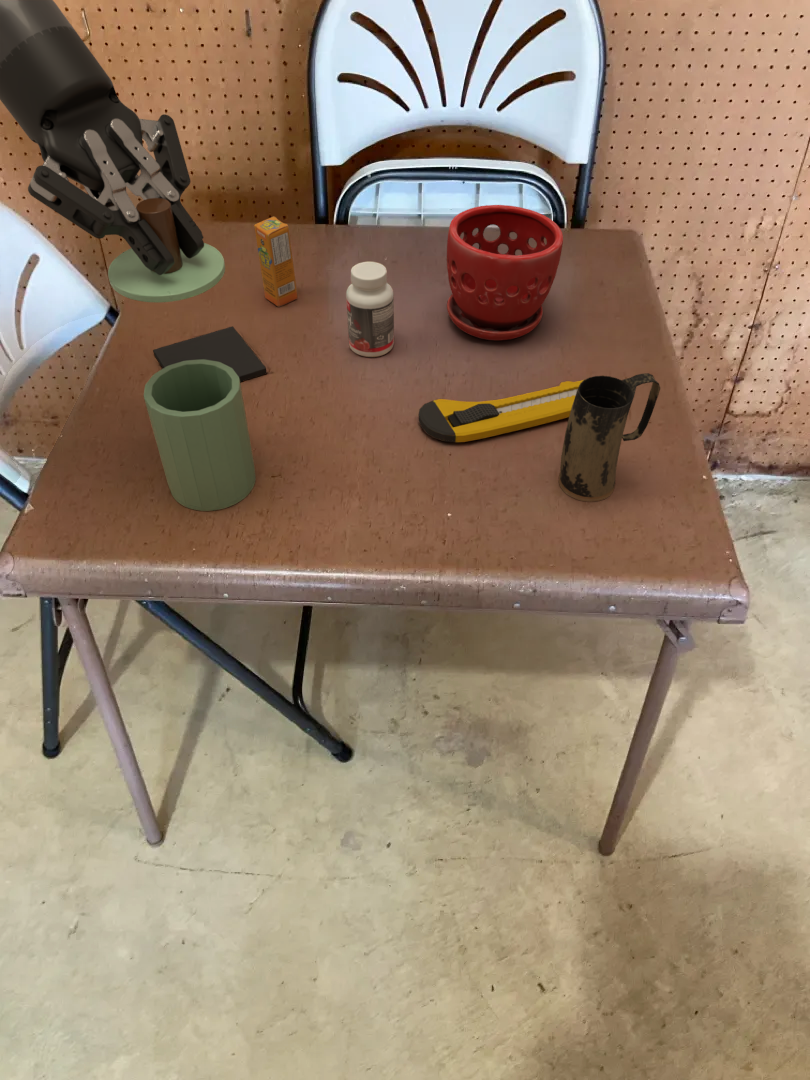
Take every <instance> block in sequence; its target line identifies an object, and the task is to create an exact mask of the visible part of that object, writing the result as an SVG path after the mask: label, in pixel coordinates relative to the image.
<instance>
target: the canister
mask: <svg viewBox="0 0 810 1080" xmlns="http://www.w3.org/2000/svg"><path fill="white" fill-rule="evenodd" d="M143 399H144V403H145V407H146V411H147V413H148V418H149V421H150V425H151V428H152V432H153V435H154V439H155V442H156V446H157V450H158V453H159V457H160V461H161V464H162V468H163V471H164V472H163V473H164V475H165V480H166V482H167V486H168V489H169V491H170V494H171V496H172V497H173V499H174V500H175V501H176V502H177V503H178V504H180V505H181V506H183V507H185V508H187V509H190V510H193V511H199V512H214V511H220V510H224V509H226V508H230V507H232V506H234V505H236V504H238V503H240V502H242V501H243V500H244V499H246V497H248V496H249V494H250V493H251V492H252V491H253V489H254V487H255V484H256V477H257V476H256V468H255V467H256V465H255V461H254V455H253V450H252V449H253V448H252V444H251V437H250V431H249V426H248V420H247V413H246V408H245V402H244V397H243V391H242V385H241V382H240V379H239V377H238V375H237V374H236V373H235V371H234V370H233V369H232V368H231V367H229V366H227V365H225V364H223V363H221V362H217V361H211V360H204V359H203V360H188V361H182V362H179V363H175V364H172V365H169V366H166V367H165V368H161V369H160V370H158V371H157V372H155V373H153V375H151V377H150V378H149V379H148V381H147V382H146V383H145V385H144V390H143Z"/></svg>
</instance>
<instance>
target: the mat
mask: <svg viewBox="0 0 810 1080" xmlns="http://www.w3.org/2000/svg"><path fill="white" fill-rule="evenodd" d="M152 353H153V356H154V358H155V359H156V360H157V362H158V364H159V365H160V366H161V369H163V368H165V367H166V366H169V365H172V364H175V363H179V362H182V361H188V360H203V359H204V360H211V361H217V362H221V363H223V364H225V365H227V366H229V367H231V368H232V369H233V370H234V371H235V373H236V374H237V375H238V377H239V379H240V383H241V382H245V381H249V380H251V379H255V378H257V377H260V376H264V375H266V374H268V371H267V367H266V366H265V365H264V363H263V362H262V361H261V359H260V358H259V357H258V356H257V355H256V353H255V352H254V351H253V350H252V348H251V347H250V345H248V343H247V341H245V339H243V337H242V335H240V333H239V332H238V331H237V329H236V328H235V327H234V326H229V327H225V328H222V329H218V330H215V331H211V332H207V333H204V334H201V335H198V336H195V337H191V338H188V339H185V340H181V341H178V342H174V343H171V344H168V345H164V346H161V347H157V348H154V349H153V350H152Z"/></svg>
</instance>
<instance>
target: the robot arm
mask: <svg viewBox="0 0 810 1080" xmlns="http://www.w3.org/2000/svg"><path fill="white" fill-rule="evenodd" d="M0 102H1V103H2V104H3V106H4V107H5V108H6V110H7V111H8V112H9V114H10V115H11V116H12V117H13V119H14V120H15V121H16V123H17V124H18V125H19V127H20V128H21V129H22V131H23V132H24V133H25V134H26V136H27V137H28V139H29V140H31V141H32V142H33V143H34V144H37V145H38V148H39V151H40V156H41V158H42V161H43V164H42V165H38V166H36V168H35V171H34V173H33V175H32V177H31V179H30V181H29V184H28V187H27V191H28V193H29V196H31V197H33V198H34V199H35V200H37V201H39V202H40V203H41V204H43V205H45V206H46V207H47V208H49V209H51V211H54V212H56V213H57V214H59V215H60V216H62V217H63V218H64V219H66V220H68V221H69V222H71V223H72V224H74V225H75V226H77V227H78V228H80V229H81V230H83V231H85V233H87V234H89V235H90V236H92V237H94V238H96V239H99V240H100V239H104V238H105V237H106V236H115V235H116V236H119V237H121V238H122V239H124V240H125V241H126V243H127V244H128V246H129V247H130V248H132V250H133V251H134V252H135V253H136V255H137V256H138V257H139V259H140V260H141V261H142V263H143V264H144V265H145V267H147V268H148V269H149V270H151V271H152V270H154V271H155V272H156V273H157V274H158V275H162V274H164V273H165V272H167V271H168V270H169V269H170V268H171V267H172V265H173V264H174V258H173V256H172V255H171V253H170V252H169V251H168V249H167V248H166V247H165V245H164V244H163V243H162V241H161V240H160V239H159V237H158V236H157V235H156V233H155V232H154V231H153V229H152V228H151V227H150V225H149V224H148V223H147V221H146V220H145V219H144V220H142V221H140V220H139V213H138V211H137V209H136V206H135V204H134V203H133V201H132V199H131V198H130V195H129V194H128V191H127V189H128V190H129V191H130V192H131V193H132V194H133V195H134V196H136V197H140V198H141V199H142V200H146V199H151V198H162V199H166V200H168V201H169V202H170V203H171V208H172V213H173V218H174V223H175V227H176V232H177V237H178V242H179V247H180V249H181V250H182V252H183V253H184V254H185V256H186V257H187V258H192V257H194V256H196V255H197V254H198V253H199V252H200V251H201V250H202V248H203V247H204V243H205V242H204V240H203V239H204V235H203V232H202V230H201V229H200V227H199V226H198V225H197V223H196V222H195V221H194V219H193V217H191V215H190V213H188V211H187V210H186V208H185V207H184V205H183V204H182V202H181V197H182V194H183V193H184V192H185V190H186V189H188V187H189V186H190V184H191V177H190V173H189V169H188V166H187V163H186V159H185V155H184V152H183V149H182V144H181V140H180V138H179V134H178V131H177V127H176V123H175V120H174V119H173V118H172V116H170V115H169V114H165V113H163V114H161V115H160V116H159V118H158V119H157V120H154V119H145V118H139V116H138V114H137V113H136V112H135V111H133V109H131V108H130V107H128V106H126V105H125V104H124V103H123V102H122V101H121V100H120V98H119V96H118V94H117V91H116V89H115V86H114V84H113V81H112V79H111V78H110V76H109V74H108V73H107V72H106V70H105V69H104V68H103V67H102V65H101V64H100V62H99V61H98V60H97V58H96V57H95V56H94V54H93V52H91V50H90V49H89V48H88V46H87V45H86V43H85V42H84V40H83V39H82V38H81V36H80V35H79V33H78V32H77V31H76V29H75V28H74V26H73V25H72V24H71V22H70V21H69V19H68V18H67V17H66V16H65V14H64V13H63V12H62V10H61V9H60V8H59V6H58V5H57V3H56V2H55V1H54V0H0ZM143 141H144V142H145V144H146V146H147V149H146V148H145V147H144V143H143ZM150 153H153V156H154V157H153V156H152V155H151V154H150ZM139 172H140V174H139V175H138V173H139ZM69 179H70V180H71V181H74V182H76V183H78V184H80V185H82V186H83V187H84V189H85V191H86V192H85V191H83V190H82V189H81V188H79V187H78V186H76V184H74V183H72V182H70V180H69Z"/></svg>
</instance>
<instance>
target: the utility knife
mask: <svg viewBox="0 0 810 1080" xmlns="http://www.w3.org/2000/svg"><path fill="white" fill-rule="evenodd" d="M601 376H604V375H601ZM584 380H585V379H582V380H577V381H571V380H566V381H561V382H560V383H559V384H558V385H557V386H552V387H548V388H544V389H540V390H536V391H532V392H527V393H522V394H518V395H512V396H508V397H504V398H500V399H499V398H498V399H489V400H483V401H467V400H466V401H465V400H464V401H463V400H454V399H445V398H437V399H433V400H431V401H429V402H426V403H424V404H423V405H422V406H421V407H420V408H419V410H418V423H419V425H420V427H421V428H422V430H423V431H424V432H425V433H426V435H428V436H430V437H432V438H434V439H436V440H439V441H442V442H446V443H447V442H448V443H449V442H450V443H465V442H471V441H476V440H481V439H486V438H490V437H495V436H499V435H503V434H508V433H513V432H516V431H520V430H525V429H528V428H533V427H537V426H540V425H544V424H549V423H552V422H556V421H559V420H563V419H566V418H569V416H570V412H571V408H572V405H573V402H574V399H575V396H576V393H577V390H578V387H579V385H580V383H581V382H582V381H584Z"/></svg>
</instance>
